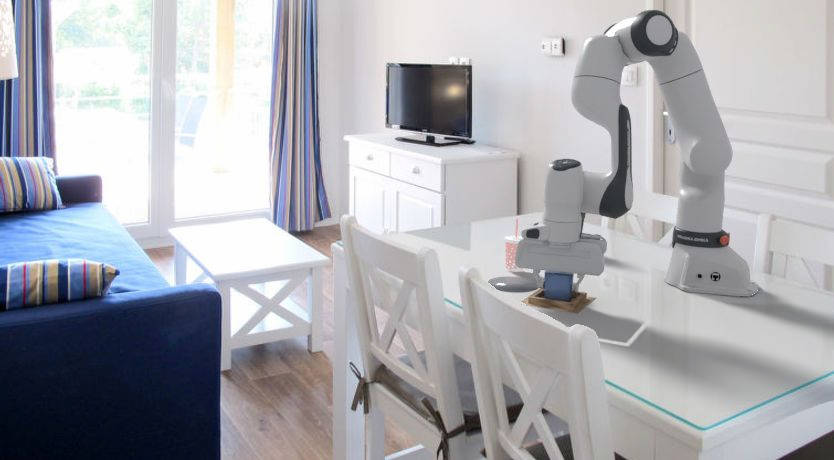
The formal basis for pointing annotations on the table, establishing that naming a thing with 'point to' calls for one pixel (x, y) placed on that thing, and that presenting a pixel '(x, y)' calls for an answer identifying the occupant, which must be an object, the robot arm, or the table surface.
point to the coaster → (513, 284)
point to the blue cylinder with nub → (558, 286)
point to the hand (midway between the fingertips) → (557, 289)
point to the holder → (559, 302)
